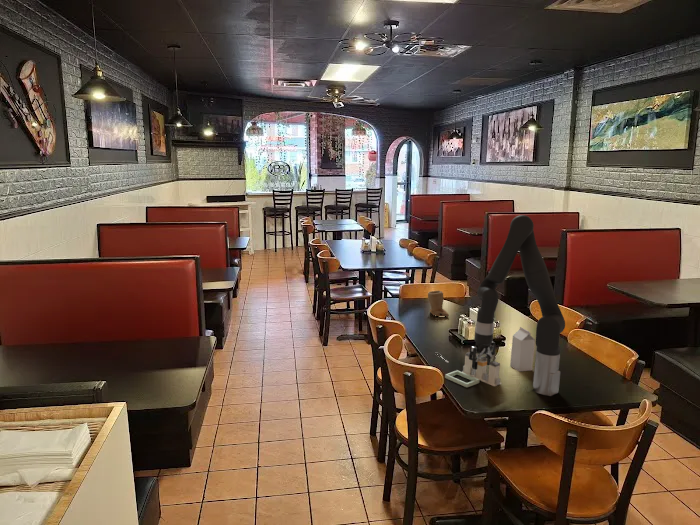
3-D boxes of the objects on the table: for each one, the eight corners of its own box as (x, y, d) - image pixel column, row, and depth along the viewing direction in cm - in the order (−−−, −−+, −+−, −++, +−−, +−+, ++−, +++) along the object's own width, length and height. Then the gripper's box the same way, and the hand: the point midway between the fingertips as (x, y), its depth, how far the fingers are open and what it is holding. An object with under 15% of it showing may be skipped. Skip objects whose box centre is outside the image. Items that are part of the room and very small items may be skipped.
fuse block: (501, 386, 217) (503, 363, 215) (494, 389, 214) (496, 366, 212) (467, 372, 232) (469, 350, 230) (460, 375, 229) (461, 352, 226)
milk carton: (518, 372, 233) (522, 332, 230) (509, 366, 240) (513, 327, 237) (532, 370, 235) (536, 331, 232) (523, 364, 242) (526, 326, 238)
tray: (478, 386, 218) (479, 379, 217) (466, 390, 213) (467, 384, 212) (457, 376, 227) (457, 370, 226) (444, 380, 222) (445, 374, 221)
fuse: (485, 377, 222) (487, 358, 221) (481, 379, 221) (482, 359, 219) (480, 375, 225) (481, 356, 223) (475, 377, 223) (477, 357, 221)
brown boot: (425, 311, 326) (426, 288, 323) (443, 311, 327) (445, 288, 324) (429, 318, 311) (431, 294, 309) (449, 318, 312) (450, 294, 309)
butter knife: (439, 352, 255) (433, 352, 255) (466, 374, 230) (461, 374, 229) (439, 353, 256) (433, 353, 255) (466, 375, 230) (460, 375, 230)
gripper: (480, 337, 212) (477, 373, 215) (501, 331, 220) (498, 366, 224) (466, 331, 218) (463, 367, 221) (487, 326, 226) (484, 360, 230)
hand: (481, 366), depth 223 cm, fingers open, 8 cm apart
